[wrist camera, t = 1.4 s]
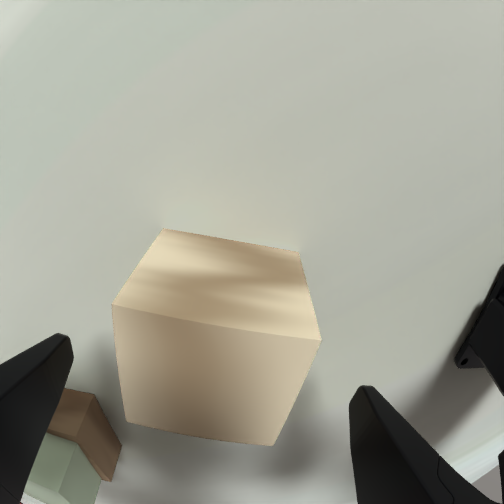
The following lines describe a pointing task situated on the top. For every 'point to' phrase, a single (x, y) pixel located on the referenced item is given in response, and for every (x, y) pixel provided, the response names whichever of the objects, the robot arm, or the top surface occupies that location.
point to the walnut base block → (87, 430)
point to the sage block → (62, 474)
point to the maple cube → (214, 338)
